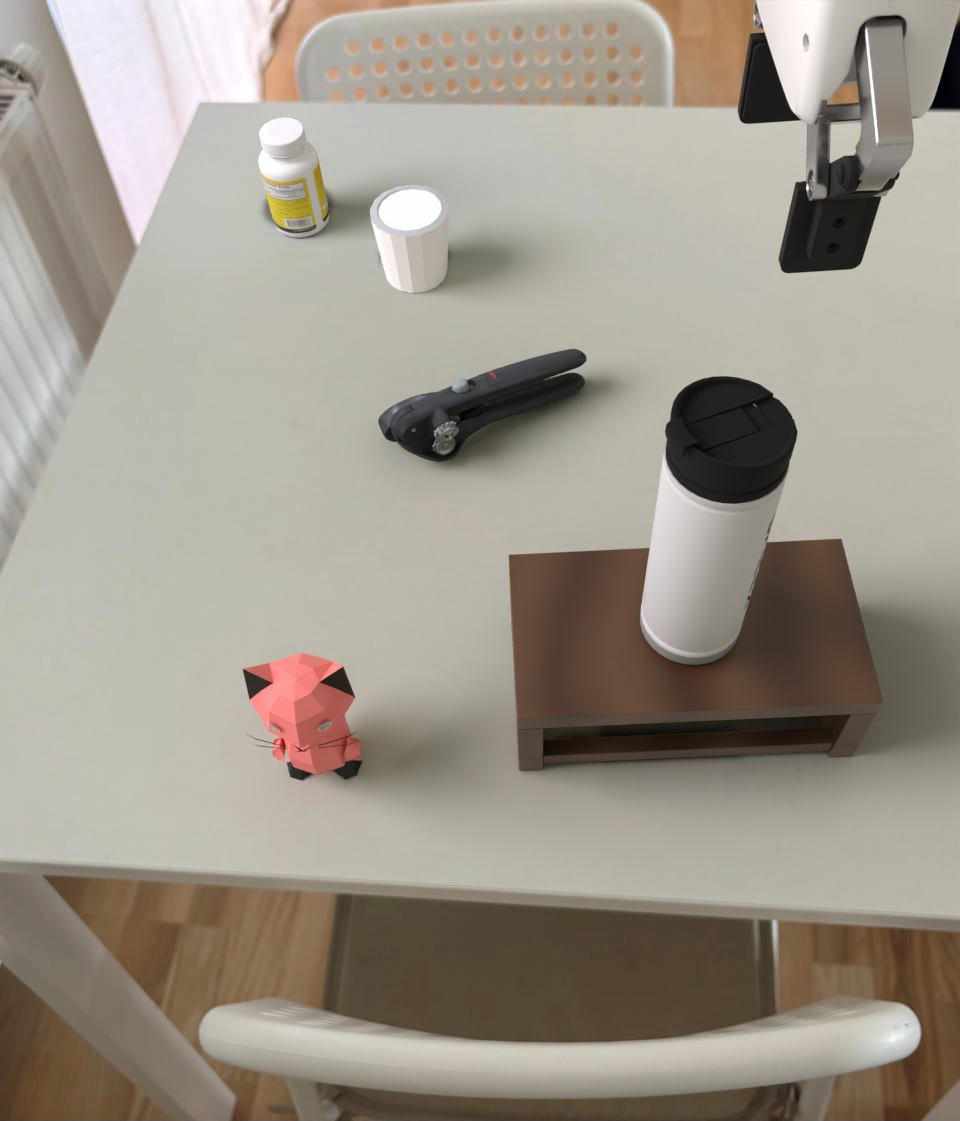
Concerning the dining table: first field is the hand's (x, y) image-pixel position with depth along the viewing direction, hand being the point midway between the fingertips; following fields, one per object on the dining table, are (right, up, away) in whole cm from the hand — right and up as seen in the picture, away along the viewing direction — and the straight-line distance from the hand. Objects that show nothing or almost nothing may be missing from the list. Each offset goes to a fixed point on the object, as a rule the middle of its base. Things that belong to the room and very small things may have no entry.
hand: (794, 188), depth 47 cm
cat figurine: (-24, -29, +28) cm, 47 cm away
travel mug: (0, -20, +23) cm, 30 cm away
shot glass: (-19, +10, +54) cm, 58 cm away
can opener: (-13, -4, +44) cm, 46 cm away
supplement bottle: (-30, +17, +58) cm, 68 cm away
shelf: (0, -24, +29) cm, 38 cm away
